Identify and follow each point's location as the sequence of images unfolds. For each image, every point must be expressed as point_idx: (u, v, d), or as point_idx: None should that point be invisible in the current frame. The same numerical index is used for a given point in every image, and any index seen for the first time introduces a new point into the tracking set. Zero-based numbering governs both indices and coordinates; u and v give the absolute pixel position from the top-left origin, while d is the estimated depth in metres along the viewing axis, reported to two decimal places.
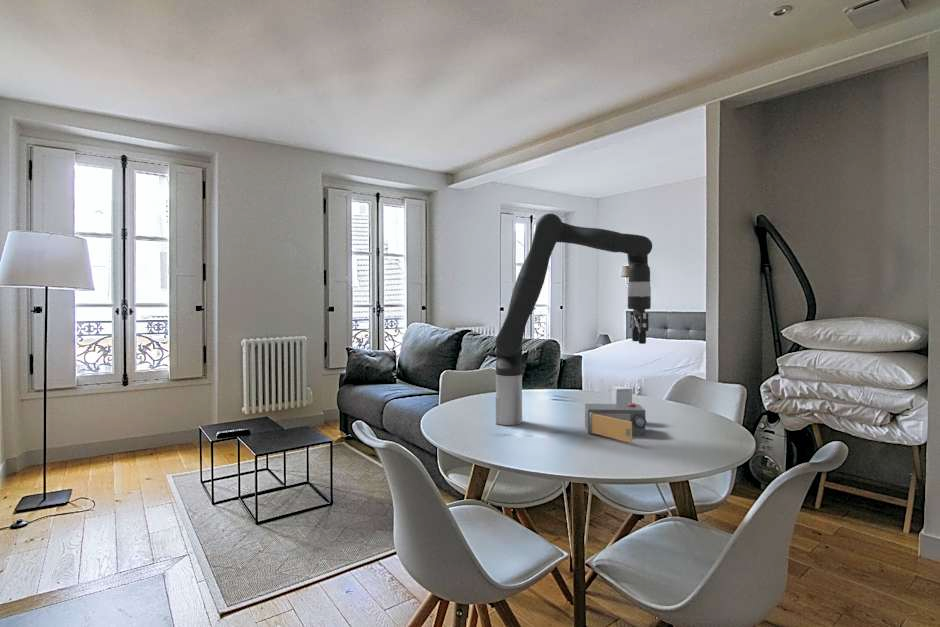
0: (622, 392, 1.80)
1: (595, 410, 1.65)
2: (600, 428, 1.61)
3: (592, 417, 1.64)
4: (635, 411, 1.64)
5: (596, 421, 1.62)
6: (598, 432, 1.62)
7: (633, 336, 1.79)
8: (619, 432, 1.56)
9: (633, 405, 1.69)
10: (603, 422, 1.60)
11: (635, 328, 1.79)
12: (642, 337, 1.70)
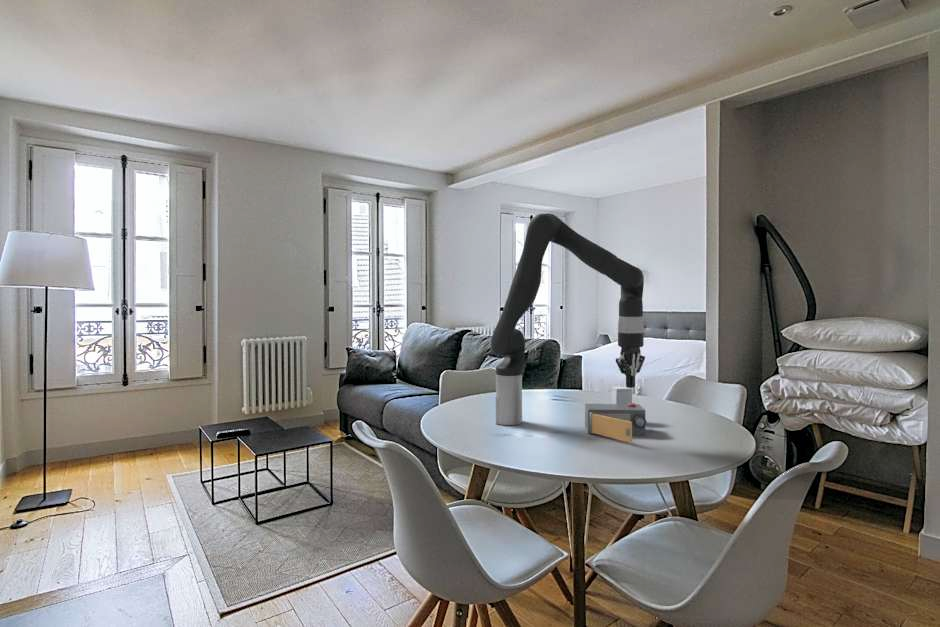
0: (622, 392, 1.80)
1: (595, 410, 1.65)
2: (600, 428, 1.61)
3: (592, 417, 1.64)
4: (635, 411, 1.64)
5: (596, 421, 1.62)
6: (598, 432, 1.62)
7: None
8: (619, 432, 1.56)
9: (633, 405, 1.69)
10: (603, 422, 1.60)
11: None
12: None
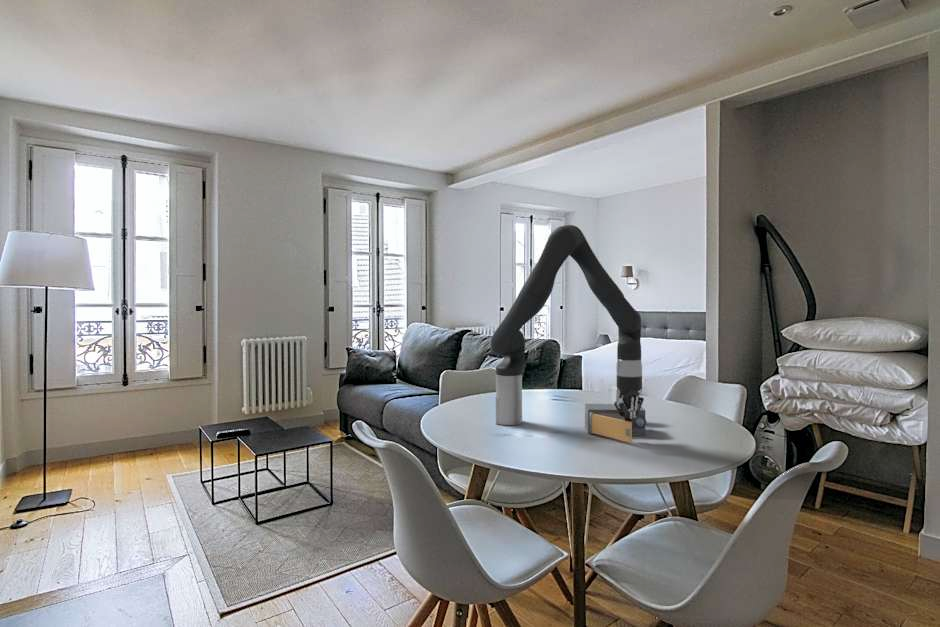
0: None
1: (595, 410, 1.65)
2: (600, 428, 1.61)
3: (592, 417, 1.64)
4: None
5: (596, 421, 1.62)
6: (598, 432, 1.62)
7: None
8: (619, 432, 1.56)
9: None
10: (603, 422, 1.60)
11: None
12: None
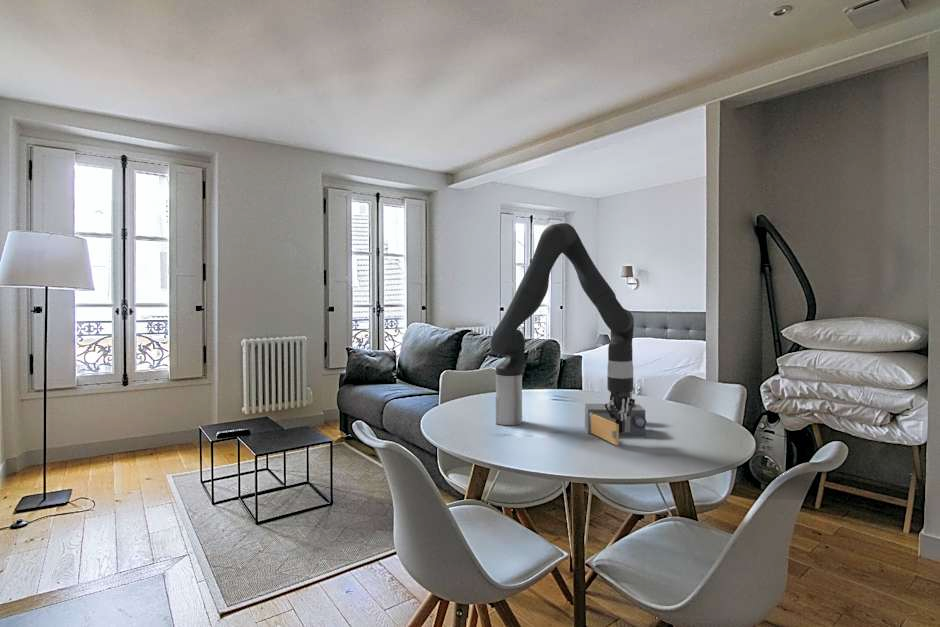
0: None
1: (595, 410, 1.65)
2: (596, 428, 1.61)
3: (591, 417, 1.64)
4: (635, 411, 1.64)
5: (594, 421, 1.62)
6: (595, 432, 1.62)
7: None
8: (608, 434, 1.54)
9: None
10: (598, 423, 1.60)
11: None
12: None
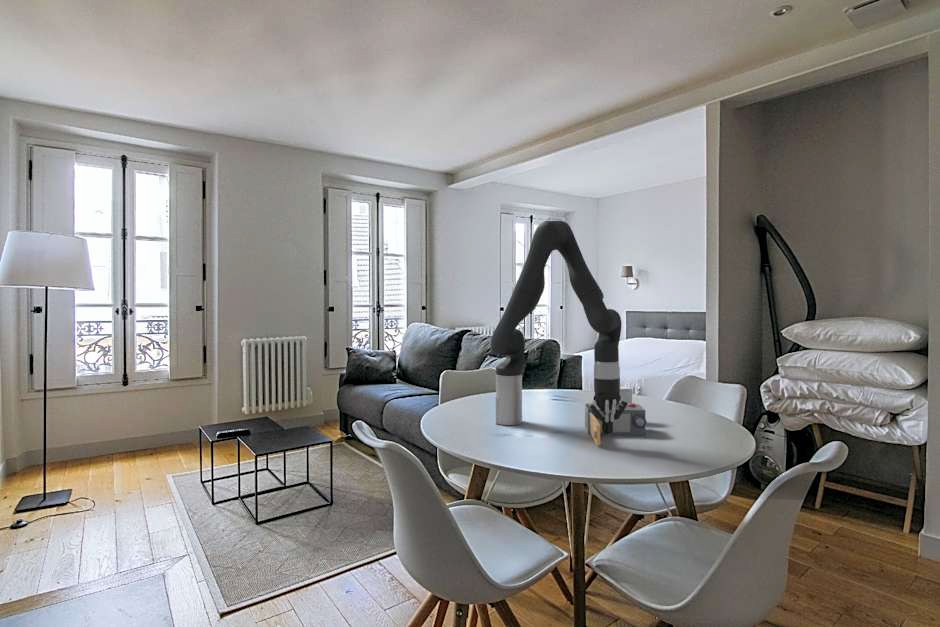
0: (622, 392, 1.80)
1: None
2: (591, 428, 1.61)
3: (590, 417, 1.64)
4: (635, 411, 1.64)
5: (591, 421, 1.62)
6: (591, 432, 1.62)
7: None
8: None
9: (633, 405, 1.69)
10: (592, 423, 1.60)
11: None
12: None
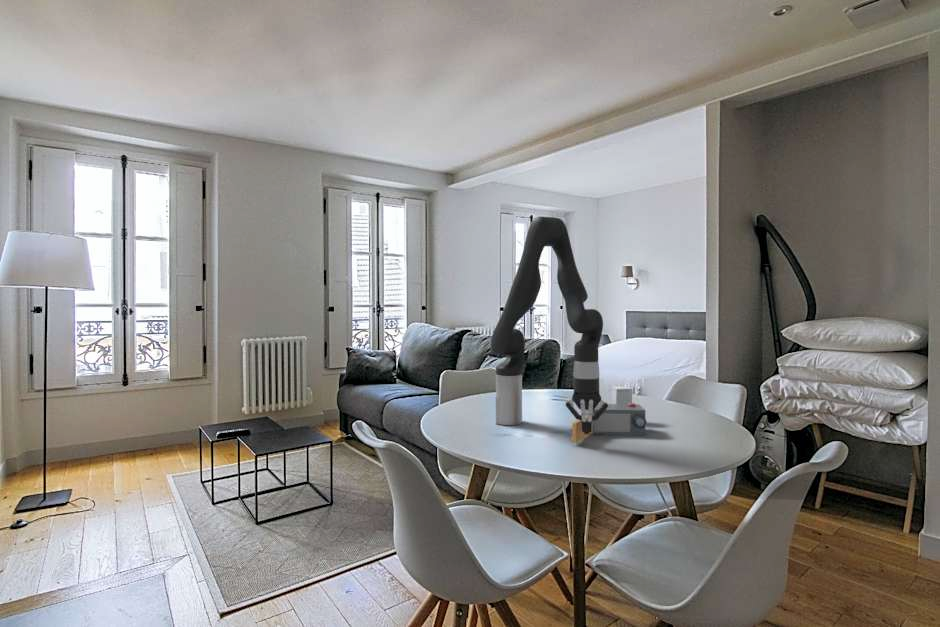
0: (622, 392, 1.80)
1: (595, 410, 1.65)
2: None
3: None
4: (635, 411, 1.64)
5: None
6: None
7: (586, 428, 1.52)
8: None
9: (633, 405, 1.69)
10: None
11: (585, 418, 1.53)
12: None
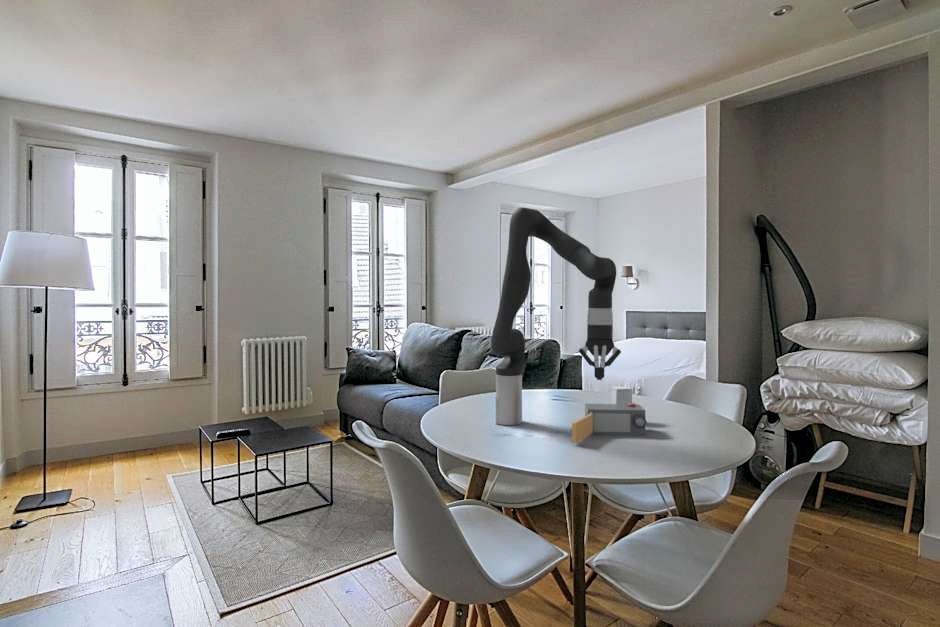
0: (622, 392, 1.80)
1: (595, 410, 1.65)
2: None
3: None
4: (635, 411, 1.64)
5: None
6: None
7: (599, 374, 1.55)
8: None
9: (633, 405, 1.69)
10: None
11: None
12: None
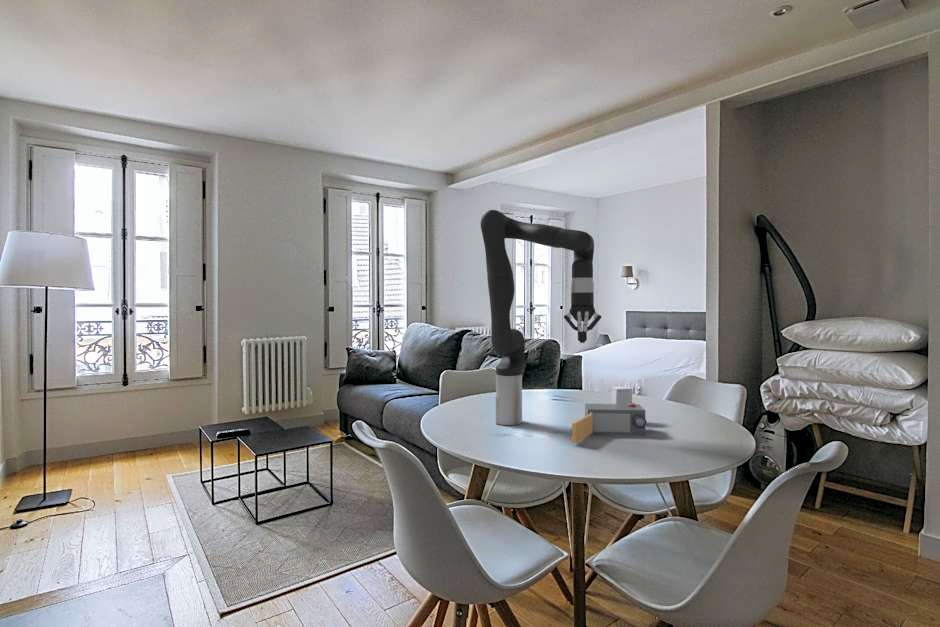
0: (622, 392, 1.80)
1: (595, 410, 1.65)
2: None
3: None
4: (635, 411, 1.64)
5: None
6: None
7: None
8: None
9: (633, 405, 1.69)
10: None
11: None
12: None
